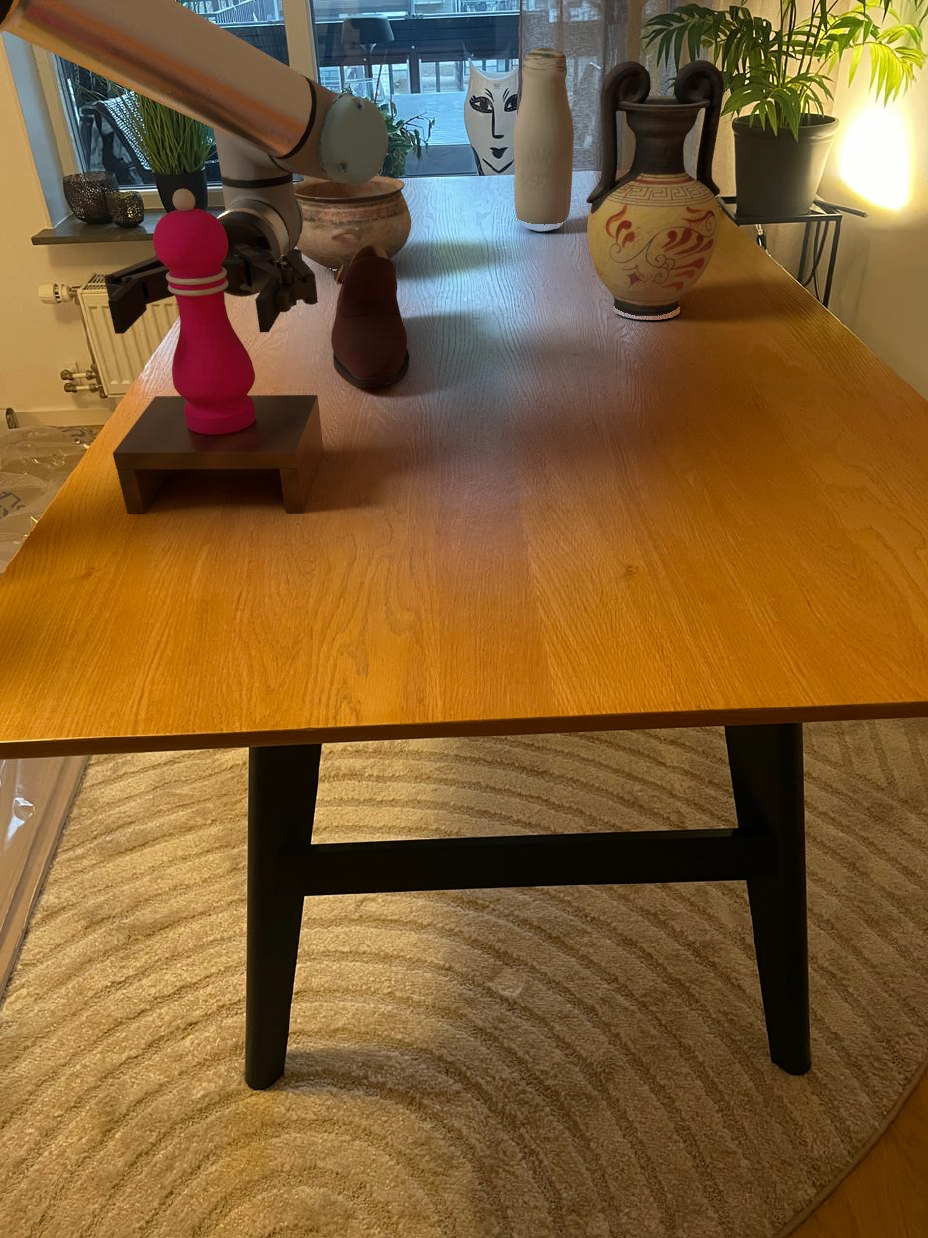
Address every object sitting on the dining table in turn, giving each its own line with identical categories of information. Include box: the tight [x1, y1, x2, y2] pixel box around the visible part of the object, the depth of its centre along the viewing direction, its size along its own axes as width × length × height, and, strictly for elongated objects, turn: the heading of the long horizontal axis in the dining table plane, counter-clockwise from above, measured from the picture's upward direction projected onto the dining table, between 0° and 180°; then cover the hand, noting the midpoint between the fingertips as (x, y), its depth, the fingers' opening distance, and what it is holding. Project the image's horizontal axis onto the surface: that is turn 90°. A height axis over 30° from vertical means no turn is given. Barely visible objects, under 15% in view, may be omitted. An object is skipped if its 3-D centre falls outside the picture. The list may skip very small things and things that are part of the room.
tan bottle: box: [513, 47, 575, 225], centre depth 164 cm, size 10×10×28 cm
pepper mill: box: [152, 188, 256, 435], centre depth 84 cm, size 7×7×20 cm
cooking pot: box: [293, 175, 412, 269], centre depth 150 cm, size 25×19×12 cm
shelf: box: [112, 394, 325, 515], centre depth 91 cm, size 16×13×6 cm
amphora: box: [586, 59, 725, 316], centre depth 125 cm, size 18×17×30 cm
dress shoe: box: [330, 244, 410, 388], centre depth 117 cm, size 9×28×12 cm, turn 5°
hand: (188, 316), depth 80 cm, fingers open, 11 cm apart
